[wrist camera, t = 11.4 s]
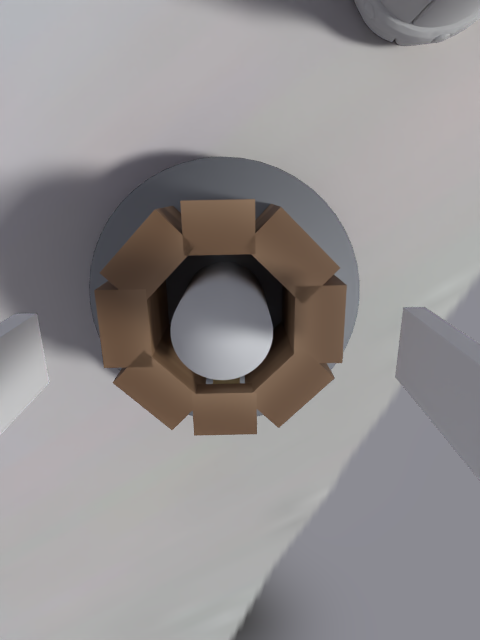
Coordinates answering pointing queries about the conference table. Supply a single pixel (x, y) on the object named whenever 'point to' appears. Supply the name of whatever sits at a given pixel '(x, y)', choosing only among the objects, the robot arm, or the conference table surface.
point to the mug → (418, 19)
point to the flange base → (230, 188)
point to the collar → (155, 331)
